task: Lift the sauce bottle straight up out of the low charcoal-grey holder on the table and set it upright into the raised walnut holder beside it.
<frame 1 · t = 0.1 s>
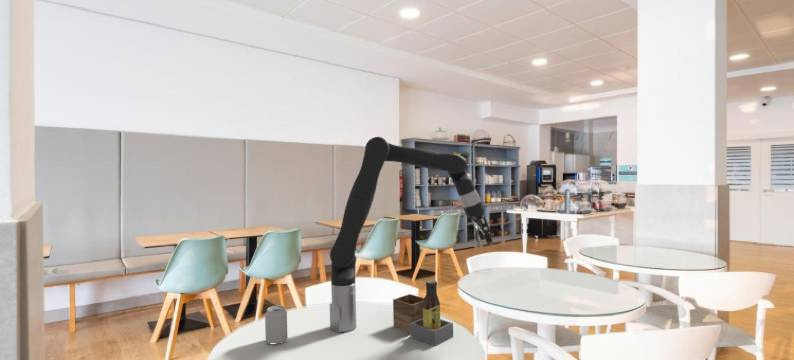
hand: (486, 241, 156), 31 cm above the table, tool tilted 20°, fingers open, 8 cm apart
sauce bottle: (432, 337, 141), resting in low holder
low holder: (432, 336, 141), on the table
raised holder: (411, 326, 151), on the table
can: (276, 341, 141), on the table
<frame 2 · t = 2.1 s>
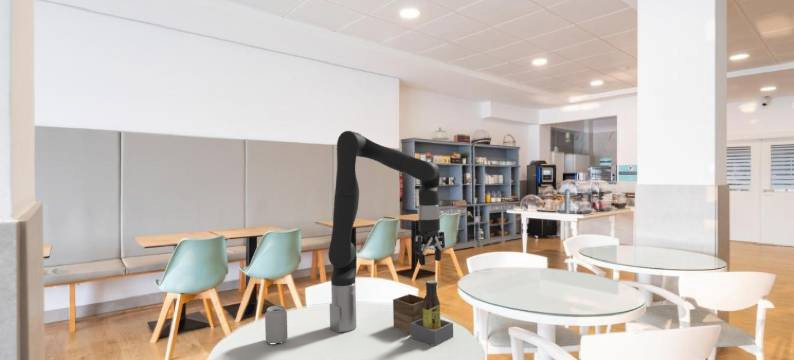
hand: (430, 262, 141), 27 cm above the table, tool pointing down, fingers open, 8 cm apart
nothing on the table moved.
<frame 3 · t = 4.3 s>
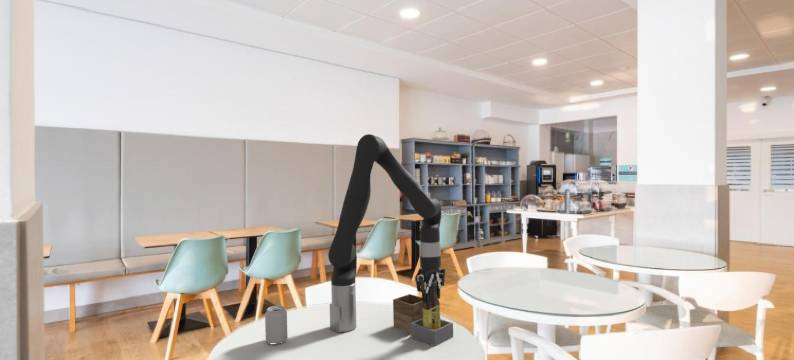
hand: (431, 300, 141), 13 cm above the table, tool pointing down, fingers closed on sauce bottle, 5 cm apart
sauce bottle: (432, 337, 141), resting in low holder, touching gripper
everything else where it was.
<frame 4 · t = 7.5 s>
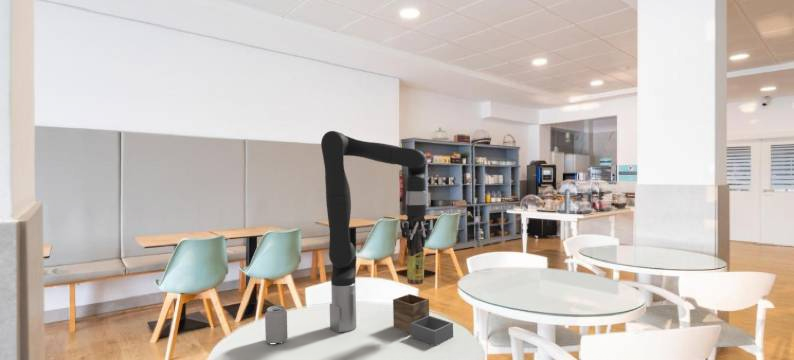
hand: (415, 248, 147), 31 cm above the table, tool pointing down, fingers closed on sauce bottle, 5 cm apart
sauce bottle: (415, 283, 147), point 18 cm above the table, touching gripper
everything else where it was.
when the fingers open (20 cm above the table, at t = 10.8 s): sauce bottle drops 1 cm, resting on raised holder.
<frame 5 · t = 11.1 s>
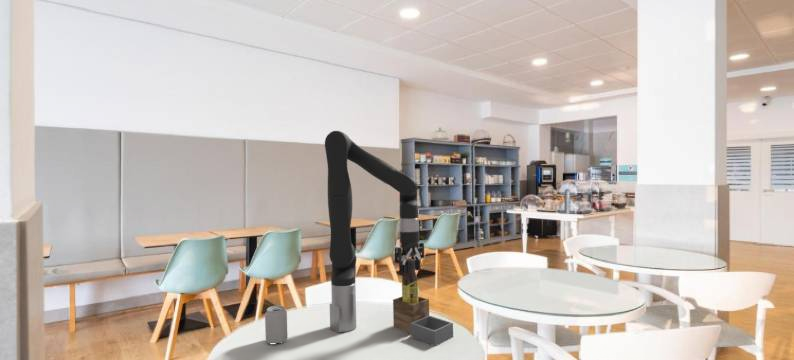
hand: (410, 272, 151), 21 cm above the table, tool pointing down, fingers open, 8 cm apart
sauce bottle: (410, 311, 151), point 6 cm above the table, touching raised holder
everything else where it was.
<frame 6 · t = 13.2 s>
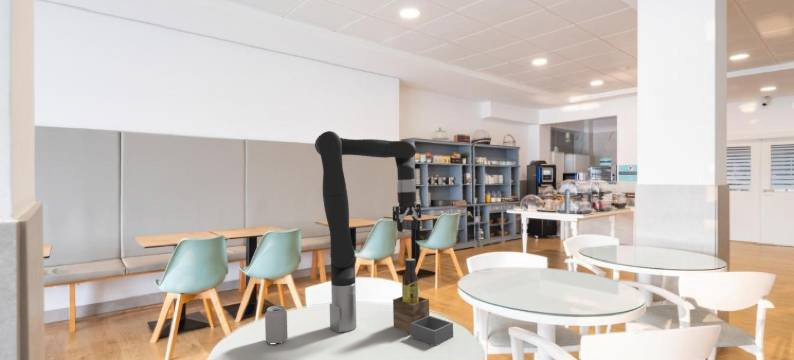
hand: (407, 230, 161), 36 cm above the table, tool pointing down, fingers open, 8 cm apart
nothing on the table moved.
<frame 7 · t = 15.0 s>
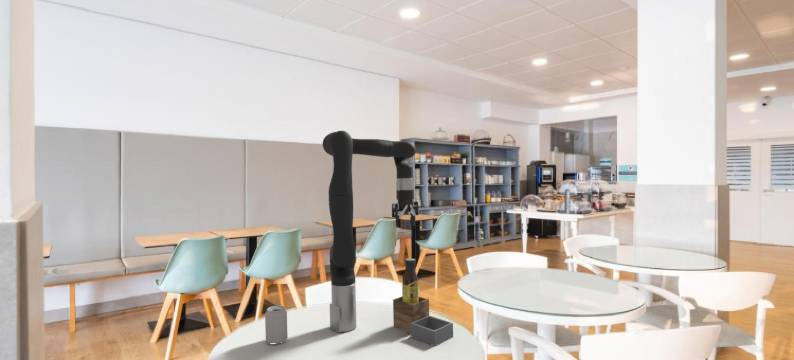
hand: (405, 226, 169), 36 cm above the table, tool pointing down, fingers open, 8 cm apart
nothing on the table moved.
at the end: sauce bottle 0.1 cm off-centre on the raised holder, point 5.8 cm above the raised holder's base; sauce bottle tilted 0°; the gripper is holding nothing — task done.
